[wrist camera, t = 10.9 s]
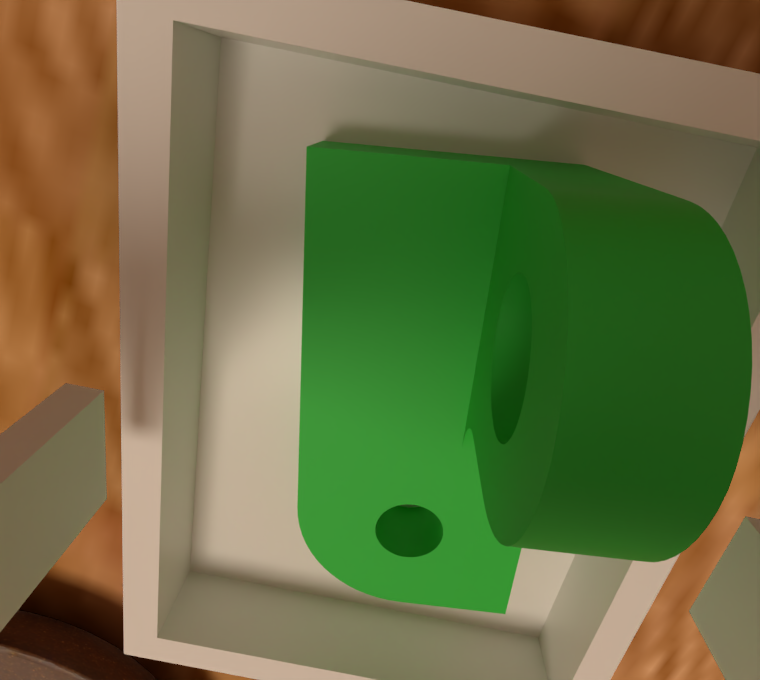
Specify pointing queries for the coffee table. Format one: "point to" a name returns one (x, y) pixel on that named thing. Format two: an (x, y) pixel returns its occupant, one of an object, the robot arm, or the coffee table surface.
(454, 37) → the tray
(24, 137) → the coffee table surface
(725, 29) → the coffee table surface
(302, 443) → the mechanical part
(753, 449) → the coffee table surface
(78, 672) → the plant saucer
